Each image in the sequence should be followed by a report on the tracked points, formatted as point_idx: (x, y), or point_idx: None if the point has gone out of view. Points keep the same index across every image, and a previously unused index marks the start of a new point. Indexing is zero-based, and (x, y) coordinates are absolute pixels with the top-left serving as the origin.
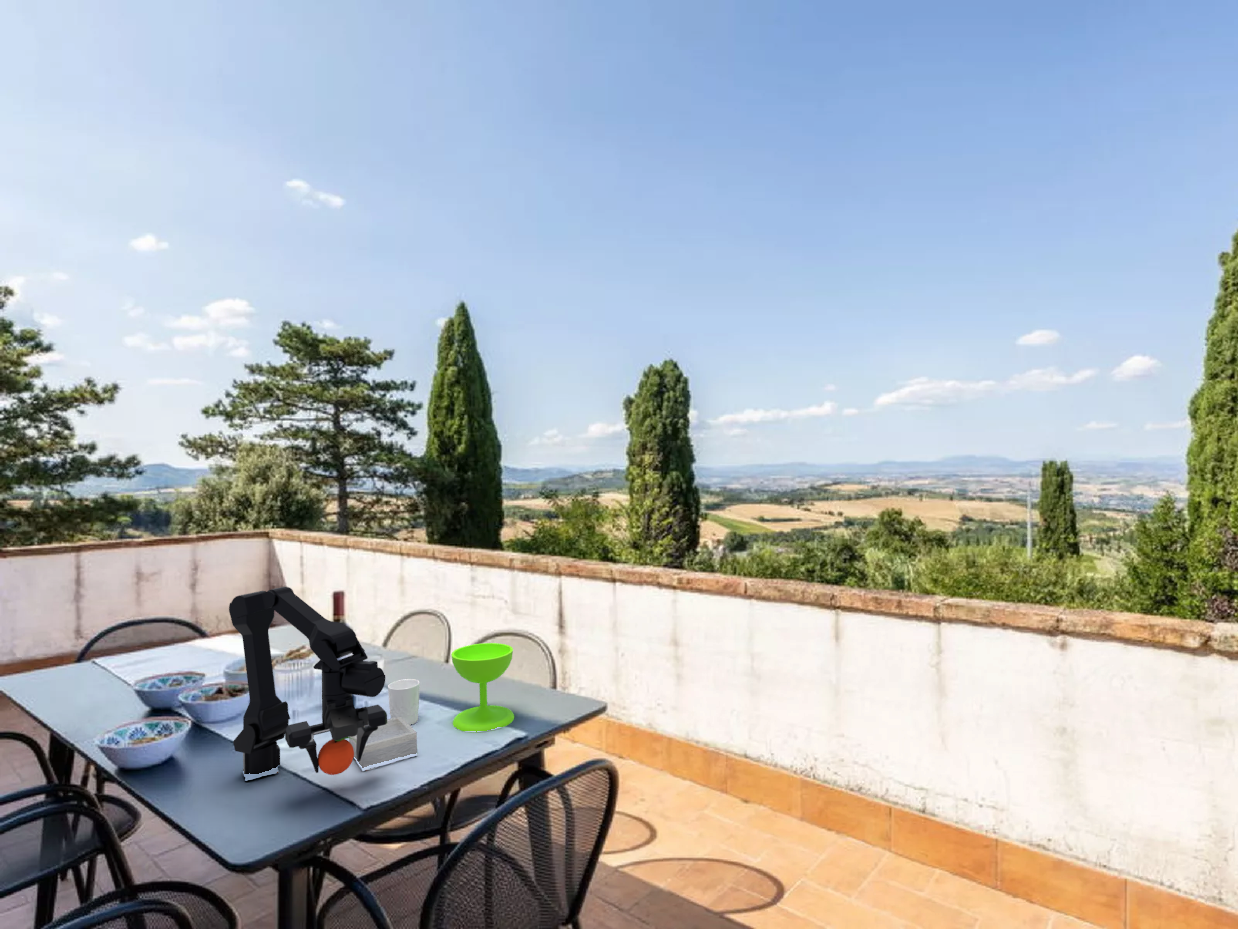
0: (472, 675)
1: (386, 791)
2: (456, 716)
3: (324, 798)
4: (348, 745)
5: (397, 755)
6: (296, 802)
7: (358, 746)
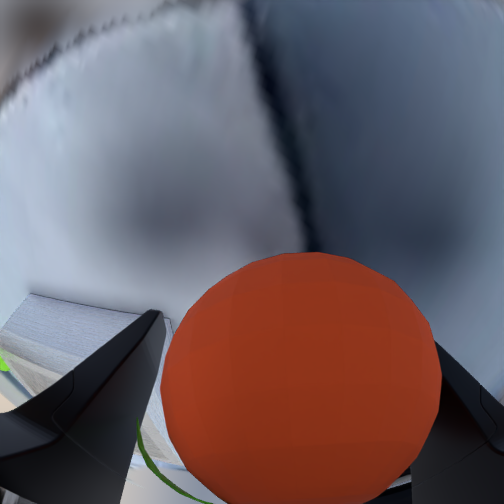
0: None
1: (106, 98)
2: (4, 365)
3: (355, 217)
4: (194, 439)
5: (59, 316)
6: (432, 260)
7: (125, 394)
